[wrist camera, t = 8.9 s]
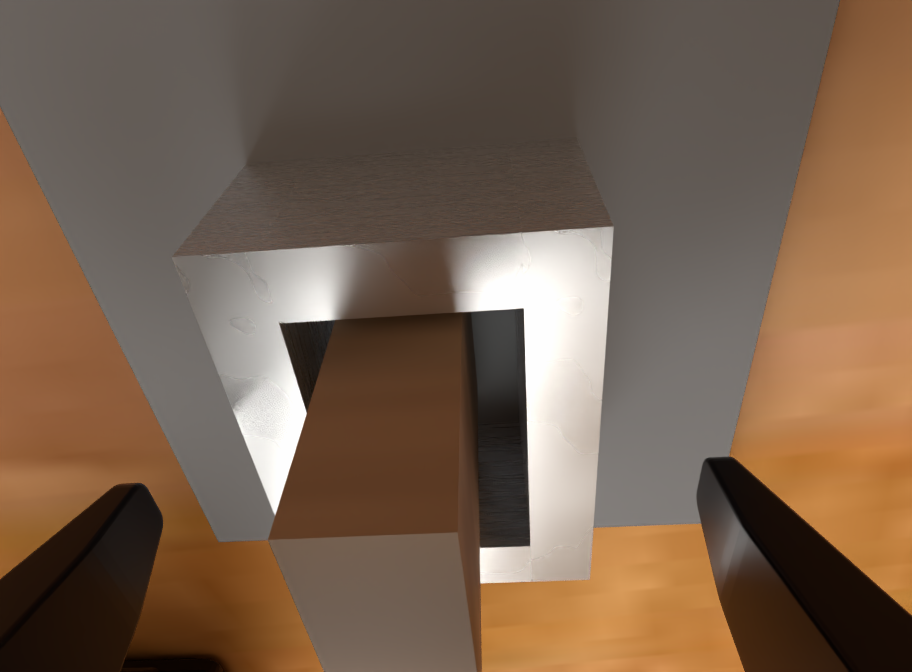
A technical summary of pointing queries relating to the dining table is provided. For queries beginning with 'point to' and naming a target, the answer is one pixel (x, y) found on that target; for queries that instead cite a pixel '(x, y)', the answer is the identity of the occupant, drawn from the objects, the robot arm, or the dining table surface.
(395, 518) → the wooden block
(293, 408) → the white hollow frame
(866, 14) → the dining table surface
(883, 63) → the dining table surface
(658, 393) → the slate board
